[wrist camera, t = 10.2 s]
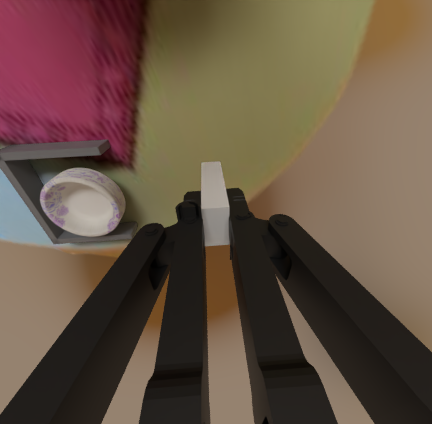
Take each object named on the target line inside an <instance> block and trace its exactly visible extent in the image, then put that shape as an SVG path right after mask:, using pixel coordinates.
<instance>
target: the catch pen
mask: <svg viewBox="0 0 432 424" xmlns="http://www.w3.org/2000/svg"><path fill="white" fill-rule="evenodd" d="M109 148H110V144H109V141H108V140H92V141H75V142H57V143H40V144H22V145H10V146H8V147H5V148H3V149H0V168H1V170H2V171H3V172H4V174H5V175H6V177H7V178H8V180H9V181H10V182H11V184H12V185H13V187H14V188H15V190H16V191H17V192H18V194H19V195H20V197H21V198H22V199H23V201H24V202H25V204H26V205H27V207H28V208H29V209H30V211H31V212H32V214H33V215H34V217H35V218H36V219H37V221H38V222H39V224H40V225H41V227H42V228H43V229H44V231H45V232H46V234H47V235H48V237H49V238H50V239H51V241H52V242H53V244H63V243H77V242H92V241H107V240H121V239H133V236H134V234H135V231H136V229H137V227H138V226H137V223H136V222H126V223H119V224H118V225H117V227H116V228H115V229H114V230H113V231H111V232H110V233H108V234H105V235H102V236H96V237H88V236H81V235H77V234H74V233H71V232H68V231H66V230H64V229H62V228H61V227H59V226H57V225H56V224H55V223H54V222H52V221H51V220H50V219H49V217H48V216H47V215H46V214H45V212H44V211H43V209H42V206H41V203H40V193H41V190H42V188H43V187H44V186H43V184H42V182H41V181H40V179H39V177H38V176H37V174H36V172H35V171H34V169H33V167H32V166H31V164H30V162H29V161H28V159H41V158H58V157H76V156H93V155H101V154H103V153H104V152H105V151H106V150H107V149H109Z"/></svg>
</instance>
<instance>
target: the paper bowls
mask: <svg viewBox="0 0 432 424" xmlns="http://www.w3.org/2000/svg"><path fill="white" fill-rule="evenodd" d="M40 203H41V206H42V209H43V211H44V212H45V214H46V215H47V216H48V217H49V219H50V220H51V221H52V222H54V223H55V224H56V225H57V226H59V227H61V228H62V229H64V230H66V231H68V232H71V233H74V234H77V235H81V236H88V237H96V236H102V235H105V234H108V233H110V232H111V231H113V230H114V229H115V228H116V227H117V225H118V224H119V222H120V220H121V218H122V216H123V214H124V211H125V207H126V202H125V198H124V195H123V193H122V191H121V189H120V188H119V186H118V185H117V184H116V183H115V182H114V181H113V180H111V179H110V178H109V177H107V176H105V175H104V174H102V173H100V172H98V171H95V170H92V169H88V168H72V169H68V170H65V171H63V172H61V173H59V174H58V175H57V176H55V177H54V178H53V179H51V180H50V181H49V182H47V183H46V184H45V185H44V187H43V188H42V190H41V193H40Z"/></svg>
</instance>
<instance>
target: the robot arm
mask: <svg viewBox="0 0 432 424" xmlns="http://www.w3.org/2000/svg"><path fill="white" fill-rule="evenodd" d="M176 213H177V218H178V222H177V223H176V224H174V225H172V226H170V227H166V228H164V227H163V226H162V225H161V224H158V223H151V224H147V225H145V226H143V227H142V228H141V229H140V230H139V231H138V232H137V234H136V235H135V236H134V238H133V239H132V240H131V242H130V243H129V244H128V246H127V247H126V248H125V250H124V251H123V252H122V254H121V255H120V256H119V258H118V259H117V260H116V262H115V263H114V265H113V266H112V267H111V268H110V270H109V271H108V273H107V274H106V275H105V276H104V278H103V279H102V280H101V282H100V283H99V284H98V286H97V287H96V288H95V290H94V291H93V292H92V294H91V295H90V296H89V298H88V299H87V300H86V302H85V303H84V304H83V305H82V307H81V308H80V309H79V311H78V312H77V313H76V315H75V316H74V317H73V319H72V320H71V321H70V323H69V324H68V325H67V327H66V328H65V329H64V331H63V332H62V334H61V335H60V336H59V337H58V339H57V340H56V341H55V343H54V344H53V345H52V347H51V348H50V349H49V351H48V352H47V353H46V355H45V356H44V357H43V359H42V360H41V362H40V363H39V364H38V365H37V367H36V368H35V369H34V371H33V372H32V373H31V375H30V376H29V377H28V379H27V380H26V381H25V383H24V384H23V386H22V387H21V388H20V389H19V391H18V392H17V393H16V394H15V396H14V397H13V398H12V400H11V401H10V402H9V404H8V405H7V406H6V408H5V409H4V410H3V412H2V413H1V414H0V424H101V423H102V421H103V418H104V416H105V414H106V412H107V409H108V407H109V405H110V403H111V401H112V398H113V396H114V394H115V392H116V389H117V387H118V384H119V383H120V381H121V378H122V376H123V374H124V372H125V369H126V367H127V365H128V363H129V361H130V358H131V356H132V354H133V352H134V349H135V347H136V345H137V343H138V340H139V338H140V336H141V334H142V332H143V329H144V327H145V325H146V323H147V320H148V318H149V316H150V314H151V312H152V309H153V307H154V305H155V303H156V300H157V298H158V296H159V294H160V292H161V289H162V287H163V285H164V283H165V280H166V278H167V276H168V274H169V272H170V274H169V281H168V287H167V293H166V300H165V306H164V312H163V319H162V325H161V332H160V338H159V345H158V351H157V357H156V363H155V369H154V373H153V375H152V377H151V378H150V380H149V381H148V384H147V387H146V389H145V394H144V398H143V403H142V410H141V415H140V420H139V424H210V407H209V384H208V383H209V382H208V339H207V296H206V254H205V253H206V252H205V246H214V245H229V244H230V260H232V266H233V273H234V279H235V286H236V292H237V299H238V306H239V313H240V319H241V326H242V332H243V339H244V345H245V352H246V359H247V365H248V371H249V378H250V384H251V392H252V404H253V415H254V422H255V424H338V423H337V420H336V418H335V415H334V413H333V410H332V407H331V405H330V402H329V400H328V397H327V394H326V392H325V389H324V386H323V384H322V382H321V379H320V377H319V375H318V373H317V372H316V370H315V368H314V367H313V366H312V365H311V364H309V363H308V362H307V360H306V359H305V356H304V354H303V351H302V349H301V346H300V343H299V340H298V337H297V335H296V332H295V329H294V326H293V323H292V321H291V318H290V315H289V312H288V310H287V307H286V304H285V301H284V298H283V295H282V293H281V290H280V287H279V284H278V281H277V279H276V276H277V277H278V279H279V280H280V282H281V283H282V285H283V286H284V288H285V289H286V291H287V292H288V294H289V296H290V297H291V298H292V300H293V302H294V303H295V305H296V306H297V308H298V309H299V311H300V312H301V313H302V315H303V317H304V318H305V320H306V321H307V323H308V324H309V326H310V327H311V329H312V330H313V332H314V333H315V335H316V336H317V338H318V339H319V341H320V342H321V344H322V345H323V347H324V348H325V350H326V351H327V353H328V354H329V356H330V357H331V359H332V360H333V362H334V363H335V365H336V366H337V368H338V369H339V371H340V372H341V374H342V375H343V377H344V378H345V380H346V381H347V383H348V384H349V386H350V387H351V389H352V390H353V392H354V393H355V395H356V396H357V398H358V399H359V401H360V402H361V404H362V405H363V407H364V408H365V410H366V411H367V413H368V414H369V415H370V417H371V419H372V420H373V422H374V423H375V424H432V352H431V351H430V350H429V349H428V348H427V347H426V346H425V345H424V344H423V343H422V342H421V341H419V340H418V339H417V338H416V337H415V336H414V335H413V334H412V333H411V332H410V331H409V330H408V329H407V328H406V327H405V326H404V325H403V324H402V323H401V322H400V321H399V320H398V319H397V318H395V316H393V315H392V314H391V313H390V312H389V311H388V310H387V309H386V308H385V307H384V306H383V305H382V304H381V303H380V302H379V301H378V300H377V299H376V298H375V297H374V296H373V295H372V294H370V292H368V291H367V290H366V289H365V288H364V287H363V286H362V285H361V284H360V283H359V282H358V281H357V280H356V279H355V278H354V277H353V276H352V275H351V274H350V273H349V272H348V271H347V270H345V268H343V267H342V266H341V265H340V264H339V263H338V262H337V261H336V260H335V259H334V258H333V257H332V256H331V255H330V254H329V253H328V252H327V251H325V249H324V248H323V247H322V246H321V245H320V244H319V243H317V242H316V241H315V240H314V239H313V238H312V237H311V236H310V235H309V234H308V233H307V232H306V231H305V230H304V229H303V228H302V227H301V226H300V225H299V224H297V222H296V221H295V220H294V219H292V218H291V217H289V216H287V215H283V214H276V215H273V216H271V217H270V218H269V220H262V219H258V218H255V217H254V215H253V213H252V212H250V211H249V209H248V206H247V203H246V200H245V197H244V194H243V191H242V190H240V189H239V188H231V189H226V187H225V182H224V177H223V172H222V168H221V163H220V161H217V162H201V191H192V192H187V193H186V194H185V195H184V201H183V202H181V203H179V204H178V205H177V206H176ZM275 274H276V276H275Z"/></svg>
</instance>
